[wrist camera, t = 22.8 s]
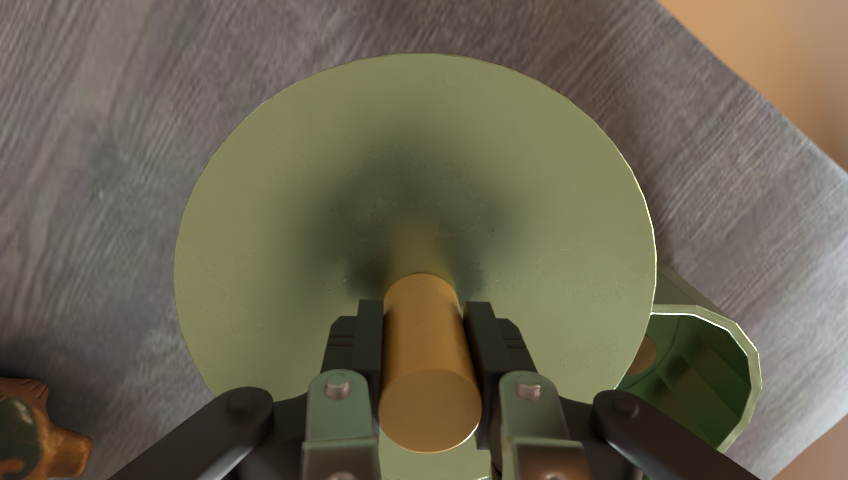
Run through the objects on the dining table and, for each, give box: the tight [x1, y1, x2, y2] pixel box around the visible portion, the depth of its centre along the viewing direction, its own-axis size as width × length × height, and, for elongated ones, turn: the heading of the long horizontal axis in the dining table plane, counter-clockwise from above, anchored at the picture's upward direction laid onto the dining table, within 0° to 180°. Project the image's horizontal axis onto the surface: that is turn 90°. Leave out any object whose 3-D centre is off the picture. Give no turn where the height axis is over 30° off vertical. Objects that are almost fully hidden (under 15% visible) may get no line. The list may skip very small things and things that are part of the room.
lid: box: [173, 52, 656, 480], centre depth 14 cm, size 15×15×6 cm
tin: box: [615, 259, 762, 480], centre depth 37 cm, size 14×14×10 cm
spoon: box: [625, 332, 657, 375], centre depth 40 cm, size 10×4×3 cm, turn 57°
